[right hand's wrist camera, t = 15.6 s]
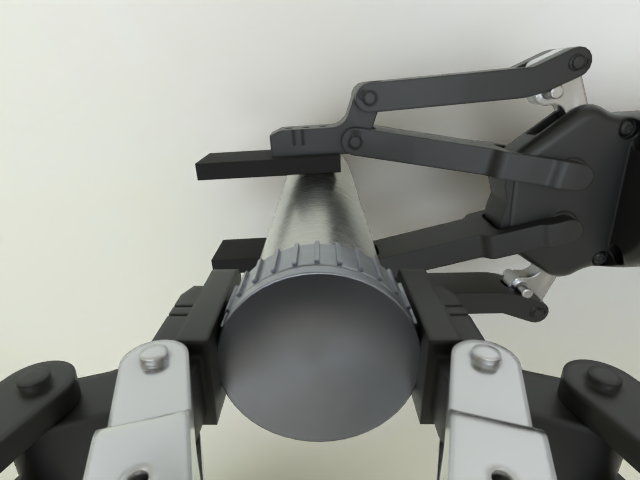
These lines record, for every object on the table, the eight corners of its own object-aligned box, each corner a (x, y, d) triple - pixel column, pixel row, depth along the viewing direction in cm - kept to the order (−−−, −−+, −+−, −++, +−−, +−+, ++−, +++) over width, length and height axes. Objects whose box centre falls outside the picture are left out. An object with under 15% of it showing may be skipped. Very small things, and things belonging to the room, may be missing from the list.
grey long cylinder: (323, 132, 26) (330, 238, 9) (362, 180, 27) (435, 355, 10) (276, 172, 27) (200, 338, 10) (315, 217, 28) (309, 436, 11)
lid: (190, 297, 11) (167, 334, 9) (354, 203, 10) (360, 227, 8) (290, 420, 12) (286, 470, 11) (441, 350, 11) (460, 393, 10)
